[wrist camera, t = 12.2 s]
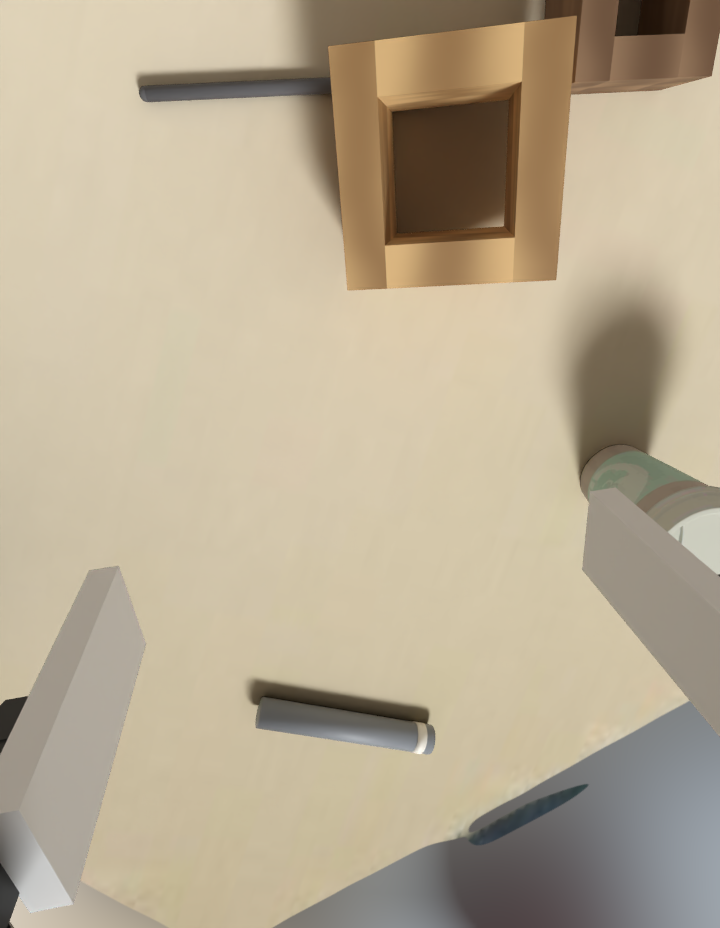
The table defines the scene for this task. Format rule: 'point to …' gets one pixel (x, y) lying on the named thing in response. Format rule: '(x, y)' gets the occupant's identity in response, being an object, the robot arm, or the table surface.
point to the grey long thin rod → (235, 89)
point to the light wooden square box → (446, 84)
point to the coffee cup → (661, 497)
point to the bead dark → (640, 44)
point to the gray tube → (344, 726)
